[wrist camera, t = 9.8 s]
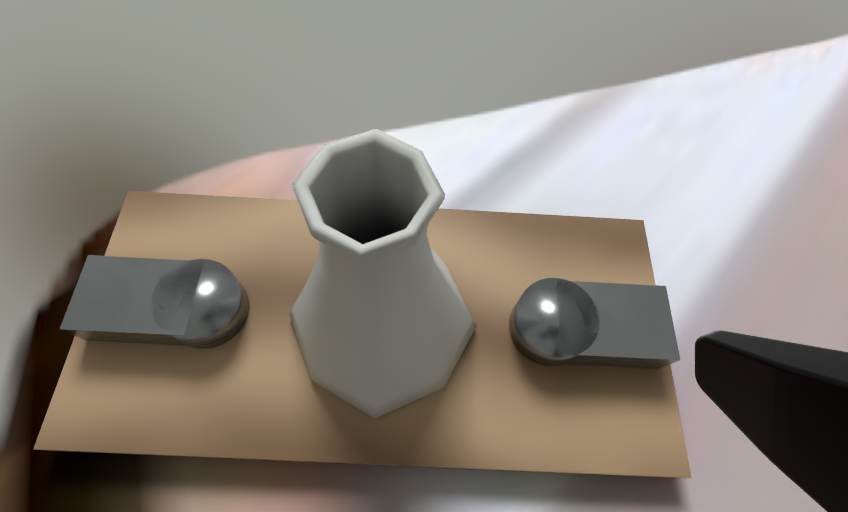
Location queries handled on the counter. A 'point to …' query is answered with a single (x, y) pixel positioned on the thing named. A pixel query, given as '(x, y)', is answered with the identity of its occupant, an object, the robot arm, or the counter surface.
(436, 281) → the flask
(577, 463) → the tan board
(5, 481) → the counter surface
